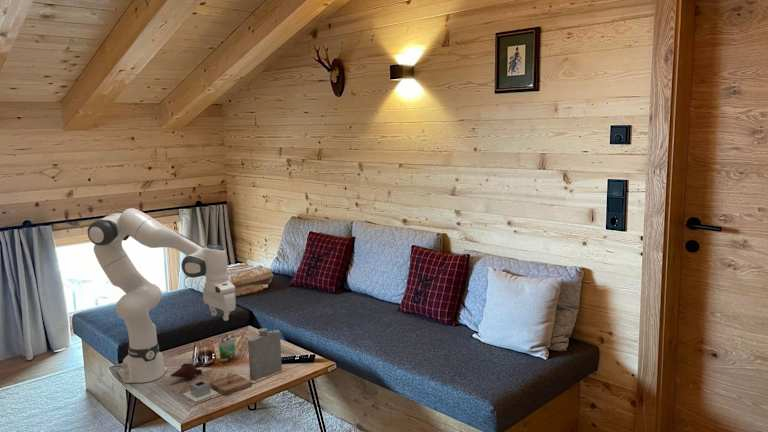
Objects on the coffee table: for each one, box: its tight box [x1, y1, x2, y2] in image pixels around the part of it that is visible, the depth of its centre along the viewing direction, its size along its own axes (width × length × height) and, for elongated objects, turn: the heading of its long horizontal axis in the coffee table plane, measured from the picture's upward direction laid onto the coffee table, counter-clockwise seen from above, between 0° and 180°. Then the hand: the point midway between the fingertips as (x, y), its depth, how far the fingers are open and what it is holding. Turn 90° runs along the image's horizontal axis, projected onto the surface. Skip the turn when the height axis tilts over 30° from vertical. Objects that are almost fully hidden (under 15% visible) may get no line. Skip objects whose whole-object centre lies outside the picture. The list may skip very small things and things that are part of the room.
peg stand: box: [209, 371, 253, 397], centre depth 248 cm, size 12×12×6 cm
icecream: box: [170, 361, 204, 381], centre depth 257 cm, size 7×7×15 cm
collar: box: [189, 379, 211, 398], centre depth 241 cm, size 6×6×4 cm
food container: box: [218, 333, 237, 364], centre depth 277 cm, size 12×6×10 cm, turn 179°
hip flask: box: [247, 327, 283, 382], centre depth 258 cm, size 16×4×20 cm, turn 138°
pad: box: [182, 387, 219, 403], centre depth 242 cm, size 10×10×1 cm
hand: (219, 317), depth 246 cm, fingers open, 8 cm apart
